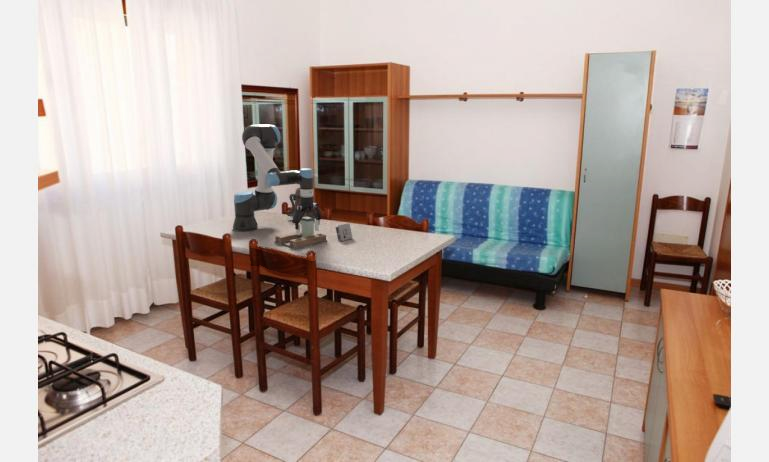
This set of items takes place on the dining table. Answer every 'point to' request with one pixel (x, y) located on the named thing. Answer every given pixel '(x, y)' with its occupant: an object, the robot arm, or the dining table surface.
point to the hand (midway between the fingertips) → (307, 232)
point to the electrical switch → (344, 232)
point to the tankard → (297, 204)
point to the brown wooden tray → (299, 240)
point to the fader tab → (307, 226)
